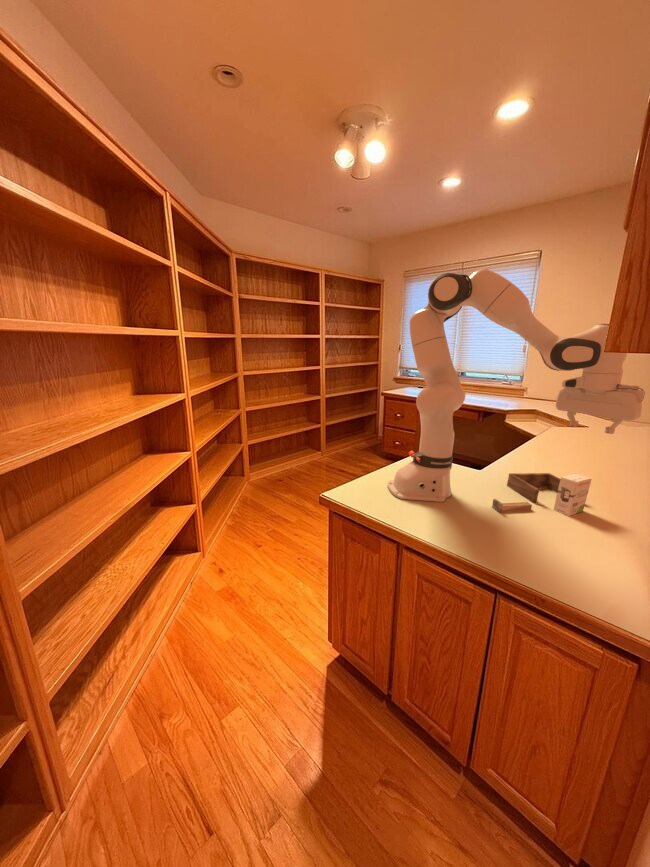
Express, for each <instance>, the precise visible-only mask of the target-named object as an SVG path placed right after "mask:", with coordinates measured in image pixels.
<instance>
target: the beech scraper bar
mask: <svg viewBox="0 0 650 867" xmlns="http://www.w3.org/2000/svg"><path fill="white" fill-rule="evenodd" d="M532 507H533V504H532V503H530V502H528V501H524V502H523V501H522V502H521V501H520V502H519V501H518V502H503V503H502V502H501V501H499V500H498V499H497V498H493V500H492V505H491V509H493V510H495V511H496V512H497V513H498V514H502V512H506V513H507V512H521V511H522V512H523V511H524V512H525V511H532Z"/></svg>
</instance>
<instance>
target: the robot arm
mask: <svg viewBox="0 0 650 867" xmlns="http://www.w3.org/2000/svg"><path fill="white" fill-rule="evenodd" d="M427 296H428V298H427V299H428V303H427V305H426V306H425V307H424V308H422V309H419V310H417V311H415V312H414V313H413V314H412V315H411V317H410V318H409V335H410V342H411V347H412V352H413V355H414V356H413V357H414V360H415V365H416V369H417V371H418V372H419V374H420V375H421V376H422V378H423V380H424V382H425V385H426V386H425V387H424V388H423V389H422V390H420V392H419V393H418V395H417V397H416V400H415V404H416V408H417V411H418V412H419V419H420V439H419V448H418V450H417V452H414V451H413V450H410V451H409V452H408V455H409V457H411V458H412V461H409V463H407V464H405V465H404V466H402V467H400V468H399V469H397V471H396V473H395V476H394V479H392V480H389V481H388V482H387V489H388V490H389V492H390V493H391V494H392V496H394V497H396V498H398V499H400V500H409V501H410V500H411V501H412V500H413V501H425V502H438V503H439V502H440V503H443V502H445V500H446V499H448V498H449V497H451V495H452V488H451V487H452V486H451V470H452V467H453V459H454V456H453V449H454V442H455V434H456V433H455V430H454V421H453V417H454V413H455V411H457V410H459V409H460V408H461V407H462V405H463V404H464V402H465V400H466V391H465V389H464V388H463V386H462V384H461V381H460V378H459V375H458V373H457V371H456V369H455V366H454V363H453V360H452V357H451V352H450V348H449V343H448V340H447V336H446V330H445V325H444V324H445V322H447V321H448V320H450V319H452V318H453V317H454V316H456V315H458V313H459V312H460V311H461V309H462V307H465V306H468V307H472V308H474V309H476V310H477V311H478V312H479V313H481V314H482V315H483V316H484V317H486V318H487V319H488V320H490V321H491V322H493V323H495V324H496V325H498V326H500V327H503V328H505V329H507V330H509V331H512V332H514V333H515V334H517V335H519V336H520V337H521V338H523V339H524V340H525V341H526V342H527V343H528V344H529V345H531V346H532V347H534V348H535V350H537V351H538V353H539V354H540V356H541V359H542V361H543V363H544V365H545V366H546V367H547V368H548V369H550V370H552V371H557V372H559V371H563V372H569V371H575V370H580V369H581V370H582V374H581V376H578V377H577V376H576V377H573V378H569V379H564V380H562V382H561V387H562V388H561V389H560V390H559V391H558V394H557V398H556V400H555V407H556V410H557V411H563V412H566V416H567V418H568V420H569V425H568V426H569V427H572V428H577V427H578V426H579V425H578V424H579V421H578V420H576V418H575V416H576V415H577V414H583V415H590V416H597V417H603V418H608V419H609V418H610V419H611V423H612V424H611V425H610V426H605V431H604V433H605V434H609V435H614V434H615V431H616V428H617V427H618V426H620V425H621V423H622V422H623V421H636V420H637V419H640V418H641V414H642V406H643V403H642V402H643V401H644V399H645V394H646V392H645V390H644V388H642V387H640V386H639V385H629V384H621V382H622V379H623V374H624V369H623V366H624V365H623V364H624V362H625V360H626V358H627V355H628V352H627V353H604V347H605V342H606V336H607V332H608V327H609V324H610V323H598V324H596V325H594V326H593V327H590V328H589V329H586V330H584V331H582V332H579V333H576V334H574V335H573V334H572V335H571V336H570V335H569V336H567V337H562V336H559V335H558V334H556V333H554V332H553V331H552V330H550V329H549V328H548V327H547V326H545V325H544V324H543V323H542V322H541V321H540V320H538V319H537V318H536V316H535V315H534V313H533V312H532V308H531V305H530V300H529V298H528V297H527V296H526V295H525V294H524V292H523V291H522V290H521V289H520V288H519V287H518V286H517V285H515V284H514V283H512V282H511V281H510V280H509V279H507V278H505V277H504V276H502V275H500V274H499V273H497V272H495V271H493V270H490V269H488V268H480V269H477V270H476V271H475V272H473V273H472V274H471V275H470V276H469V275H467V274H460V273H455V272H454V273H453V272H447V273H446V272H445V273H442V274H439V275H438V276H437V277H435V278H434V279H433V281H432V282H431V283H430V285H429V288H428V291H427Z"/></svg>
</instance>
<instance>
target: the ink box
mask: <svg viewBox="0 0 650 867" xmlns="http://www.w3.org/2000/svg"><path fill="white" fill-rule="evenodd" d="M560 479H561V480H560V484H559V488H558V492H556V497H555V502H554V506H553V510H554V511H556V512H558V513H561V514H562V515H563V514H564V515H565V516H568V517H570V516H572V515H575V514H578V513H581V512H583V511H584V509H585V506H586V502H587V499H588V494H589V490H590V487H591V483H592V478H591V477H588V476H585V475H582V474H580V473H579V474H578V473H573V474H568V475H564V476H561V477H560Z"/></svg>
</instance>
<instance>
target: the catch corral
mask: <svg viewBox="0 0 650 867" xmlns="http://www.w3.org/2000/svg"><path fill="white" fill-rule="evenodd" d="M560 480H561V477H557V476H555V475H554V474H552V473H549V472H544V473H543V472H539V473H538V472H537V473H536V472H532V473H531V472H528V473H526V472H524V473H521V472H520V473H519V472H518V473H515V472H514V473H511V472H510V473H508V477H507V481H506V482H507V483H506V487H508V488H509V489H510V490H513V491H514V492H516V494H517V493H518V494H519V495H521V496H522V497H523V498H525V499H526V500H528V501H529V502H531V504H532V503H533V504H536V503H537V502H538V497H539V492H540V489H539V488H538V487H544V488H545V487H546V488H548V489H550V490H551V491H554V492H555V493H557V492H558V488H559V484H560Z"/></svg>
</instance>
